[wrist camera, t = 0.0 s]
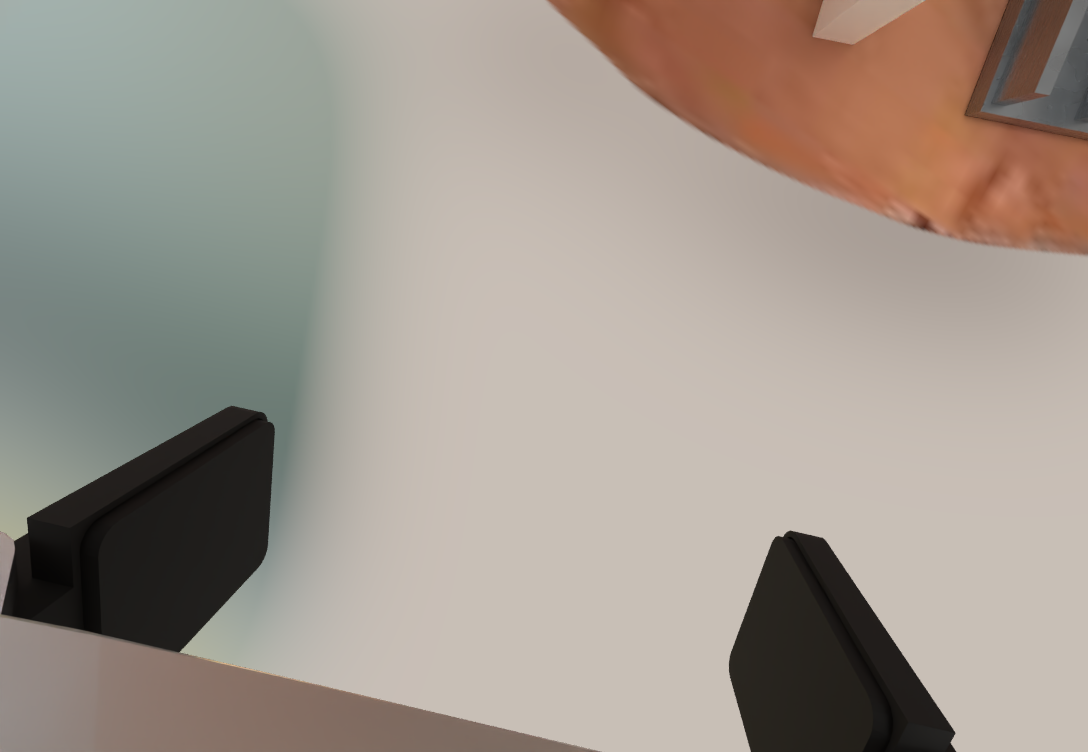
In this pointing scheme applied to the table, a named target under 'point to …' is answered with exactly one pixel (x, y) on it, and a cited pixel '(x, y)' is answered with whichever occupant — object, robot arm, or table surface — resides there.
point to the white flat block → (857, 18)
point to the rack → (1037, 68)
